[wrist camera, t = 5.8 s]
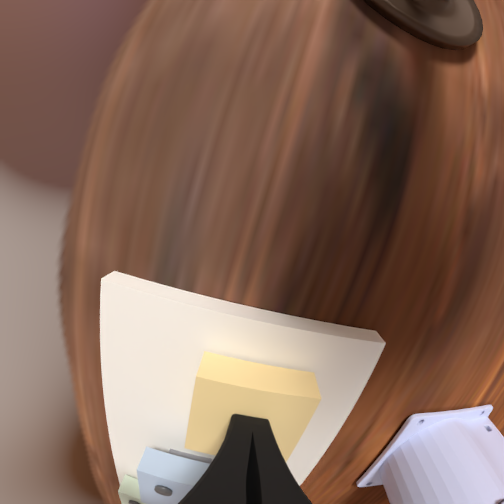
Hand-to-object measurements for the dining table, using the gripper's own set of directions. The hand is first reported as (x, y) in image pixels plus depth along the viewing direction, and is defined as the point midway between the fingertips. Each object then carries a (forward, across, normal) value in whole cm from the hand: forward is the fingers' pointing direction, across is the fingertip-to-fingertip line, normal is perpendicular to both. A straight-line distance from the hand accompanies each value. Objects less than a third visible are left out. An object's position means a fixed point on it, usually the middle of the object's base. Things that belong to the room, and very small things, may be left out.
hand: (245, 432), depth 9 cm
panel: (+3, +1, +6) cm, 7 cm away
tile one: (+2, 0, 0) cm, 2 cm away
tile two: (+1, +2, +6) cm, 7 cm away
